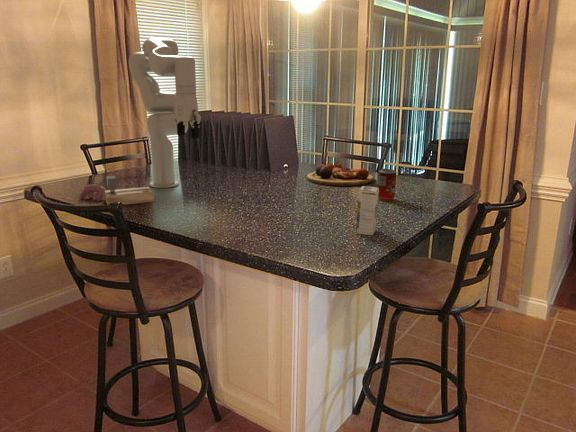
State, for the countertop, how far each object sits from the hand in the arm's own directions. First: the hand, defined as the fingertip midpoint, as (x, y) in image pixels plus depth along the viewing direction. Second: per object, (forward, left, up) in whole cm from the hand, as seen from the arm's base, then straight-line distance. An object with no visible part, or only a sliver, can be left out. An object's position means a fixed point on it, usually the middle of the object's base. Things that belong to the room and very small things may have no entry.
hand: (188, 136), depth 186 cm
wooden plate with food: (-10, +75, -26) cm, 80 cm away
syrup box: (+63, +41, -25) cm, 79 cm away
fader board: (-6, -23, -25) cm, 34 cm away
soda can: (+31, +72, -25) cm, 82 cm away
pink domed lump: (-15, -35, -25) cm, 46 cm away
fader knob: (-6, -29, -21) cm, 36 cm away
